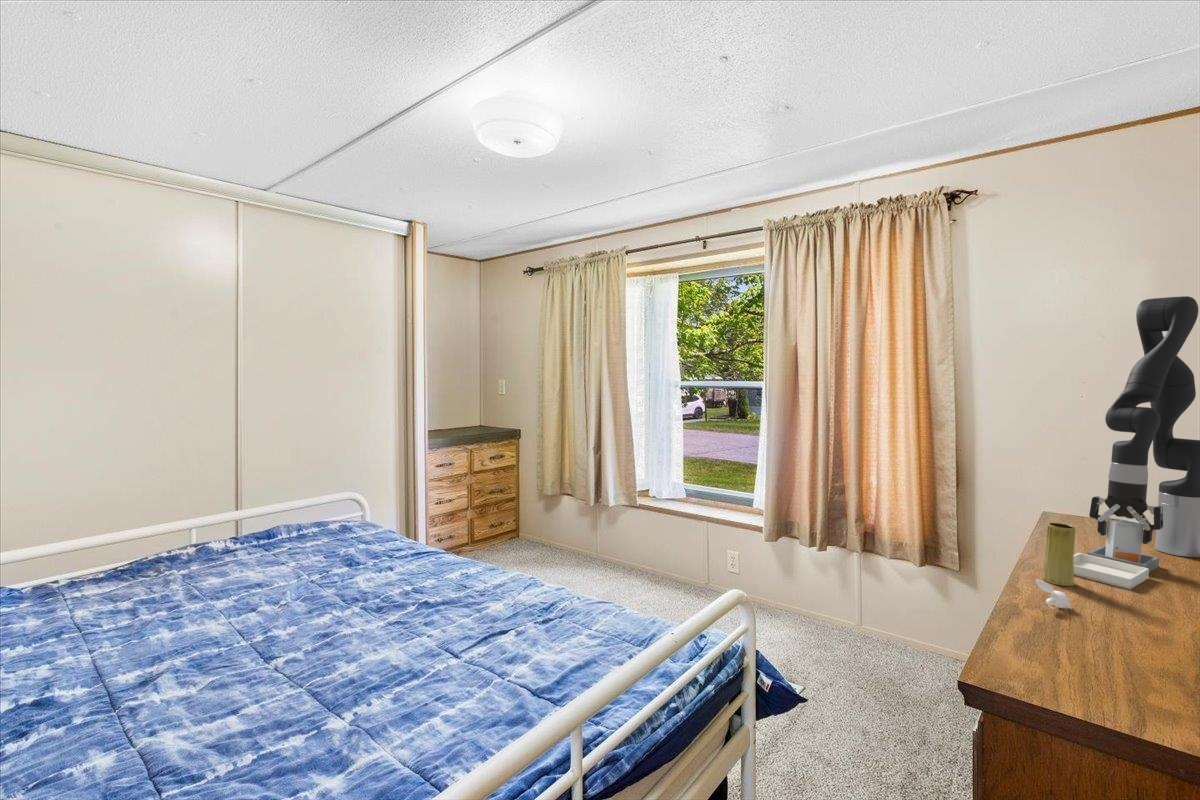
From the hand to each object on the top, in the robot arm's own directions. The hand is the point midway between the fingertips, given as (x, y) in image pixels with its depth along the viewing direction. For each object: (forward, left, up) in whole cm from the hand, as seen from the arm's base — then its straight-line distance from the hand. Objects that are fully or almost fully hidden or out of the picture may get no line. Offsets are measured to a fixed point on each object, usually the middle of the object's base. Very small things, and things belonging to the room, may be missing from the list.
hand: (1123, 539), depth 147 cm
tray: (+15, 0, -7) cm, 16 cm away
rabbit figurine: (+50, +1, -7) cm, 51 cm away
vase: (+31, -4, -7) cm, 32 cm away
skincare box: (0, 0, -7) cm, 7 cm away
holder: (0, 0, -7) cm, 7 cm away
